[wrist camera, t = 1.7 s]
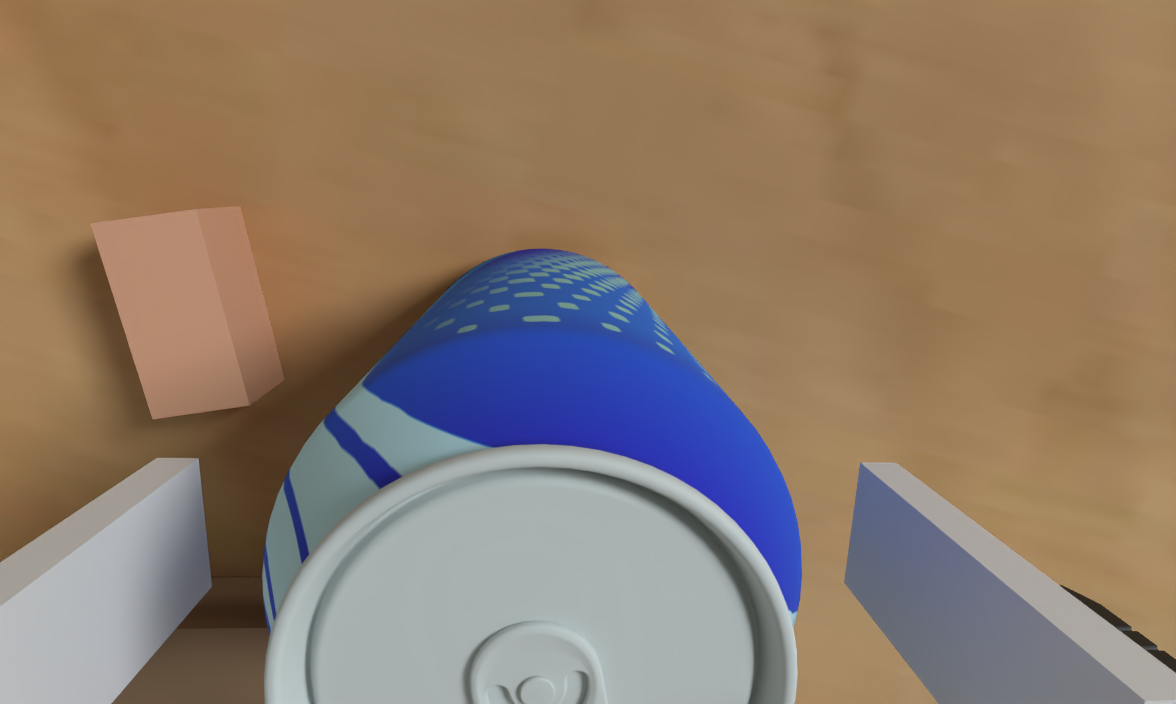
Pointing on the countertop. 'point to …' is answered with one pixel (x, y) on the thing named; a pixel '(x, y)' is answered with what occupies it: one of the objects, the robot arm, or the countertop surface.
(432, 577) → the beer can
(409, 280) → the countertop surface
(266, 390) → the terracotta brick
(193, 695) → the walnut slab
